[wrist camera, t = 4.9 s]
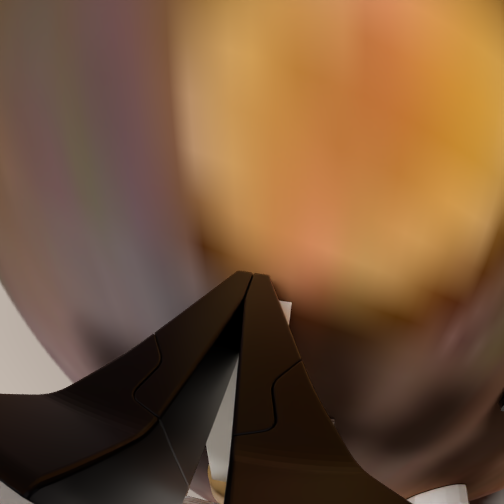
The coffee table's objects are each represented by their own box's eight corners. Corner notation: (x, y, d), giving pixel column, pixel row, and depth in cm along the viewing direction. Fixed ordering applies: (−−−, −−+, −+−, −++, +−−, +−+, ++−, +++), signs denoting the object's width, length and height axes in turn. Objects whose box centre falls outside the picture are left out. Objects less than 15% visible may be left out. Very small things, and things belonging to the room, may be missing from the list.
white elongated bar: (203, 288, 10) (167, 364, 7) (304, 304, 10) (296, 389, 7) (217, 464, 18) (206, 502, 16) (262, 472, 18) (254, 512, 15)
